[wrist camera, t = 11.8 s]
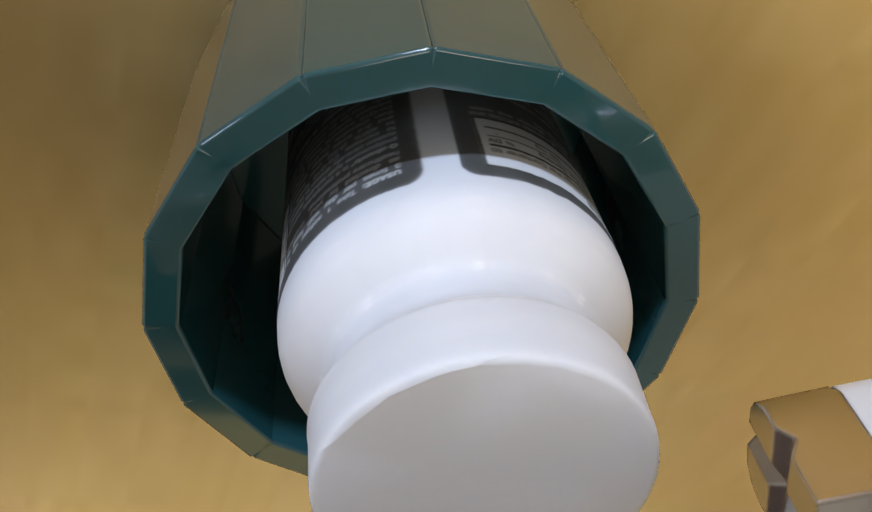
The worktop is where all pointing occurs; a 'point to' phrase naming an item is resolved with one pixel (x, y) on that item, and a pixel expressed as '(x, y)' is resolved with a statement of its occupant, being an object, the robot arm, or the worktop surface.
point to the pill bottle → (456, 314)
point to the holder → (357, 82)
